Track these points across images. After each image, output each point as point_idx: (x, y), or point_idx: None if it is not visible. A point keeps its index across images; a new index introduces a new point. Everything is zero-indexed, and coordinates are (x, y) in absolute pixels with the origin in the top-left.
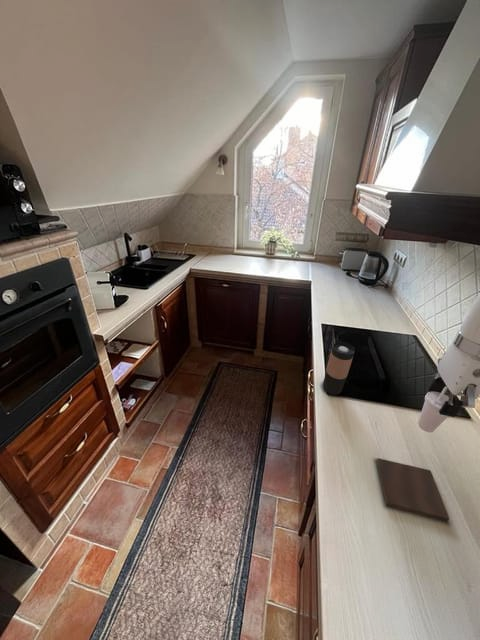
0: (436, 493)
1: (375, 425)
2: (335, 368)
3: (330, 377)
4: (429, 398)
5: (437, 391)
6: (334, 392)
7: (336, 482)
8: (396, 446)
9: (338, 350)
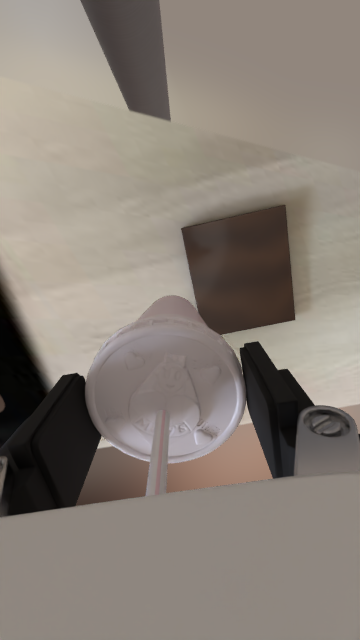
0: (236, 223)
1: (104, 336)
2: None
3: None
4: (175, 451)
5: (86, 413)
6: None
7: None
8: (141, 292)
9: None
